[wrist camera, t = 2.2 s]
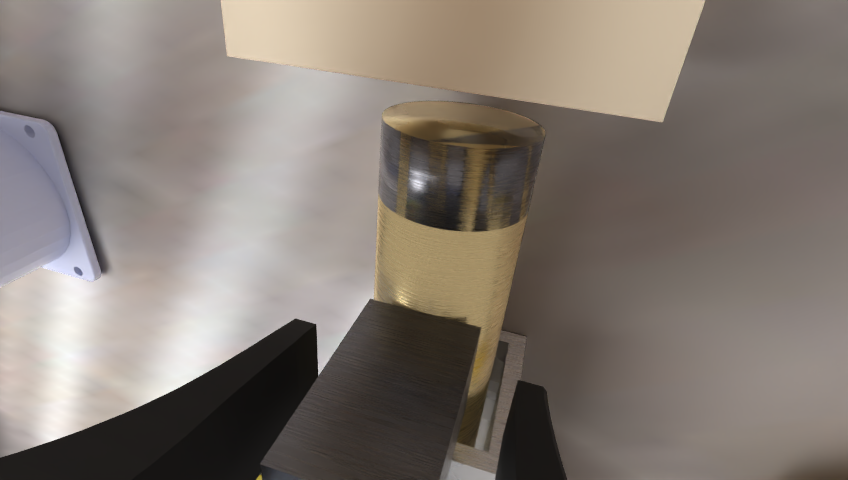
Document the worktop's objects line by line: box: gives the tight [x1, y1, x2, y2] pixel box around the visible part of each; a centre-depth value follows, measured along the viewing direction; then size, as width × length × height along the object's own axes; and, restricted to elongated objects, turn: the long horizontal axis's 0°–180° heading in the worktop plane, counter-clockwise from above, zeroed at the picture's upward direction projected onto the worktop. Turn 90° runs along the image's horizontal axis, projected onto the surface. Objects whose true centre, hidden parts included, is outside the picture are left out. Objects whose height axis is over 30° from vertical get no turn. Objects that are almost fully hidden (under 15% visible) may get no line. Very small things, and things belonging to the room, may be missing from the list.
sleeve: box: [447, 330, 527, 480], centre depth 17 cm, size 6×8×6 cm
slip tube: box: [260, 101, 545, 480], centre depth 13 cm, size 4×16×9 cm, turn 175°
